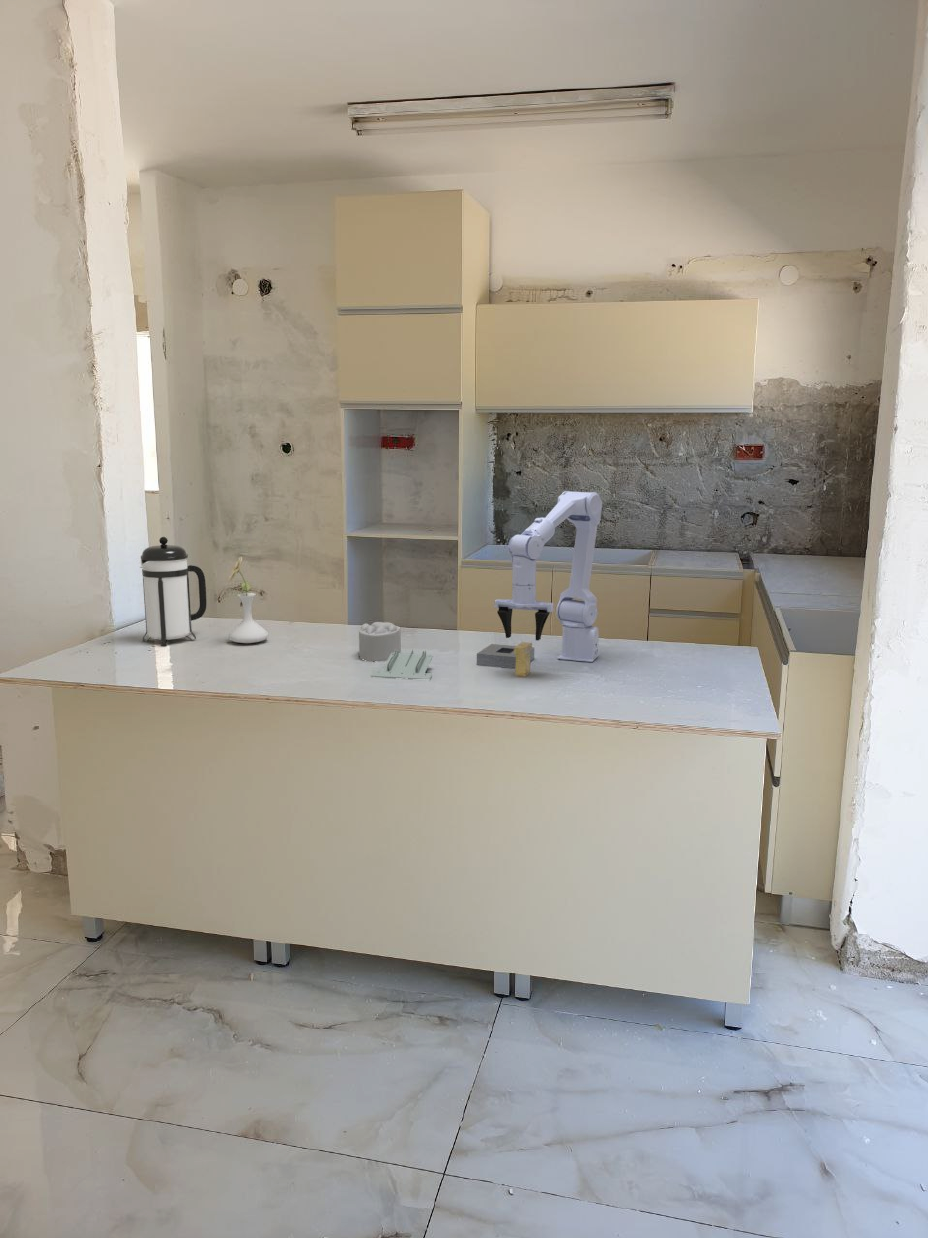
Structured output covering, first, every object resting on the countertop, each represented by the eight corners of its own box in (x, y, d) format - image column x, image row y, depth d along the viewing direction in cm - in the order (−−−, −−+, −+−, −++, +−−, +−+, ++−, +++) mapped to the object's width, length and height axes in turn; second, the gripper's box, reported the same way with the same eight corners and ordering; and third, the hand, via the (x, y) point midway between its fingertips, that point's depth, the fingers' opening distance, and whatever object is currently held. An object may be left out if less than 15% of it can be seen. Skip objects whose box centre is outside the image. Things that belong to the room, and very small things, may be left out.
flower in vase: (237, 636, 272) (233, 552, 267) (274, 638, 271) (271, 553, 266) (219, 646, 260) (215, 558, 255) (258, 648, 258) (255, 559, 253)
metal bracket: (384, 644, 238) (440, 647, 235) (386, 664, 241) (442, 667, 238) (368, 672, 226) (427, 676, 223) (370, 693, 229) (429, 696, 226)
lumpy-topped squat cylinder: (404, 651, 255) (403, 620, 253) (390, 662, 242) (390, 630, 241) (367, 649, 257) (367, 618, 255) (353, 660, 245) (352, 628, 243)
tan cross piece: (531, 671, 233) (531, 642, 232) (523, 678, 227) (523, 648, 226) (521, 670, 234) (522, 641, 233) (513, 677, 228) (514, 647, 226)
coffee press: (191, 646, 259) (185, 539, 254) (134, 646, 260) (127, 539, 254) (208, 633, 276) (203, 533, 271) (155, 633, 277) (149, 533, 271)
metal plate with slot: (534, 658, 247) (534, 647, 246) (520, 669, 236) (521, 657, 235) (491, 654, 251) (491, 643, 250) (476, 664, 240) (476, 653, 239)
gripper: (490, 584, 225) (490, 639, 228) (548, 588, 220) (547, 644, 223) (499, 580, 231) (499, 633, 234) (556, 583, 226) (554, 638, 229)
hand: (523, 638), depth 229 cm, fingers open, 7 cm apart
